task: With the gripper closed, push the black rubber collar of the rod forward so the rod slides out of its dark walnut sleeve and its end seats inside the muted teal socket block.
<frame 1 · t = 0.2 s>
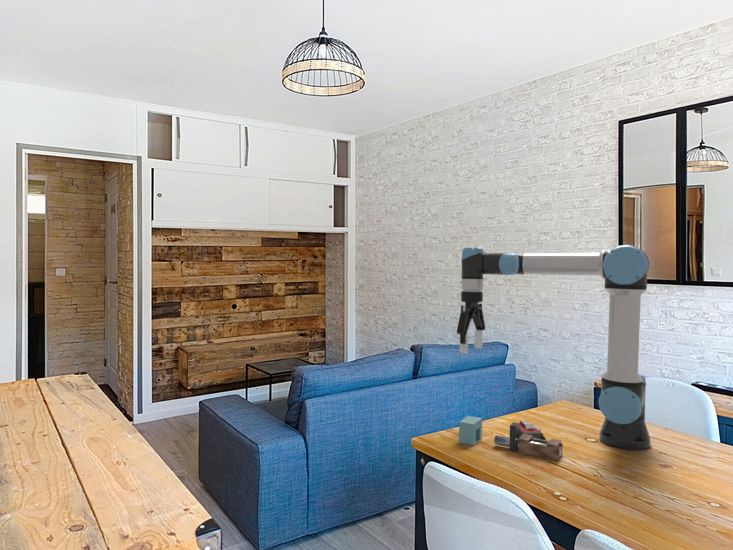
hand: (471, 350, 189), 28 cm above the table, fingers open, 13 cm apart
sleeve: (540, 454, 164), on the table
rod: (527, 438, 166), point 4 cm above the table, slide at 0.0 cm
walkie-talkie: (526, 434, 185), on the table
socket: (470, 440, 175), on the table
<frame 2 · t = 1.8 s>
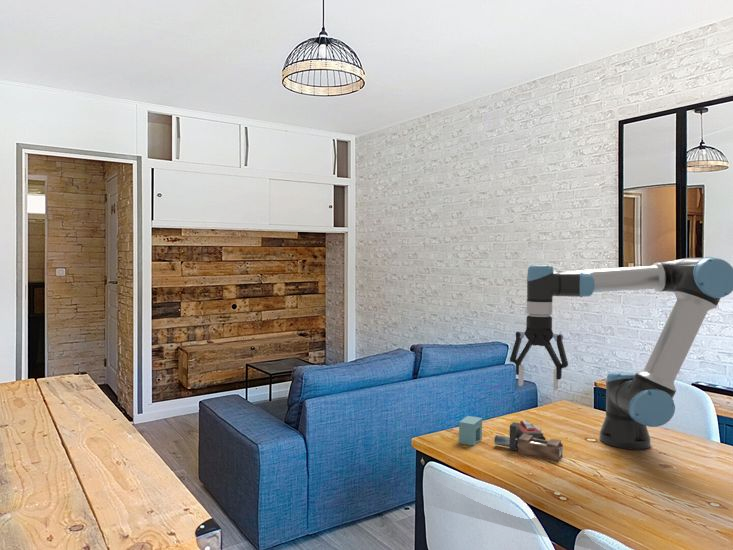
hand: (537, 387, 164), 21 cm above the table, fingers open, 10 cm apart
nothing on the table moved.
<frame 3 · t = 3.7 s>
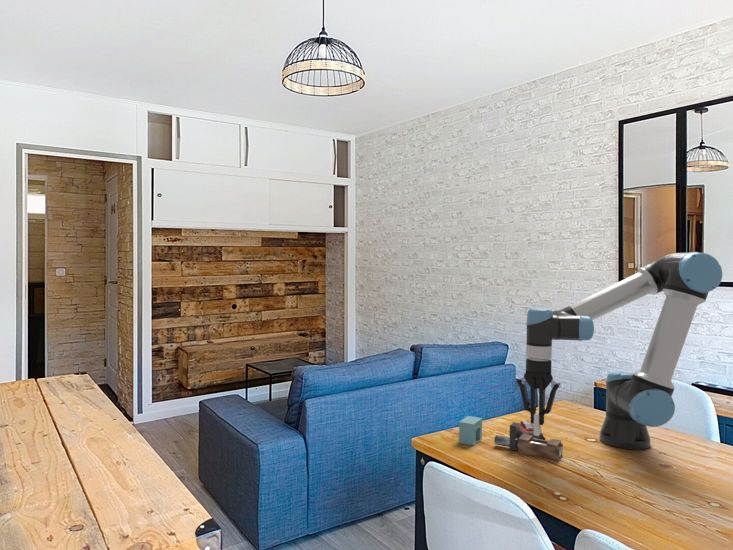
hand: (537, 434, 164), 6 cm above the table, fingers closed
nothing on the table moved.
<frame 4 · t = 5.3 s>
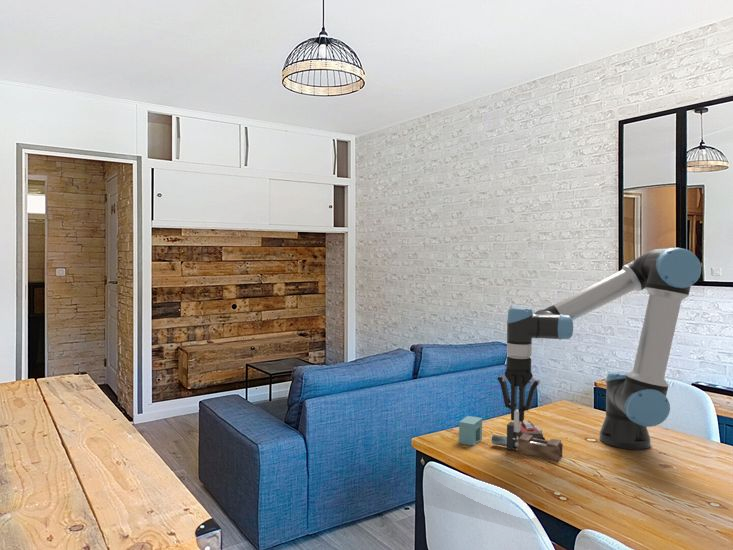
hand: (517, 430, 167), 6 cm above the table, fingers closed
rod: (524, 437, 166), point 4 cm above the table, slide at 0.9 cm, touching gripper
everything else where it was.
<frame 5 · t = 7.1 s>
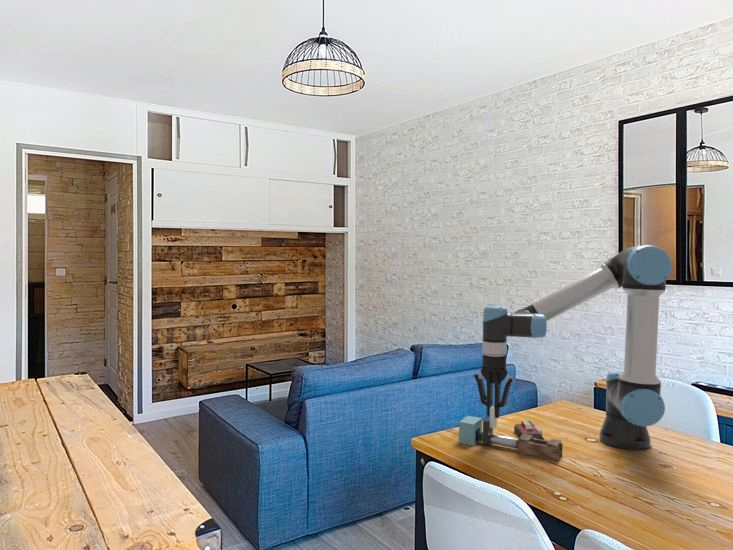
hand: (493, 427, 171), 6 cm above the table, fingers closed
rod: (500, 433, 170), point 4 cm above the table, slide at 8.7 cm, touching gripper
everything else where it was.
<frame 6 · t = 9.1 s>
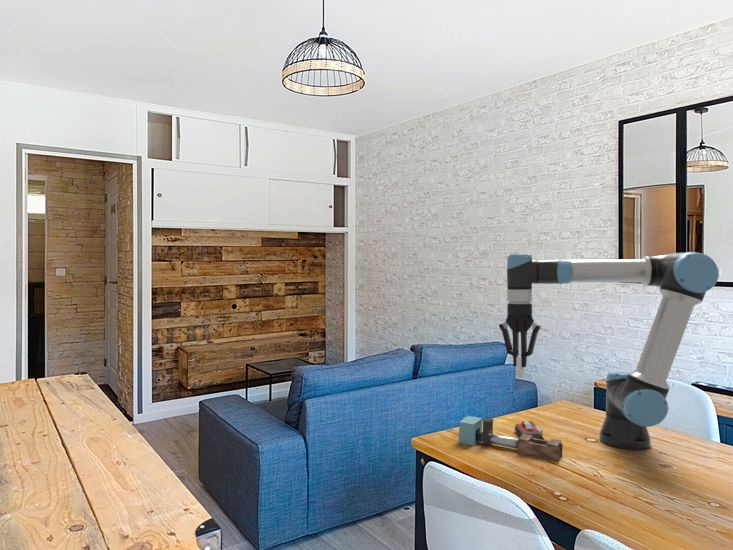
hand: (520, 377, 168), 23 cm above the table, fingers closed
rod: (499, 433, 170), point 4 cm above the table, slide at 8.7 cm
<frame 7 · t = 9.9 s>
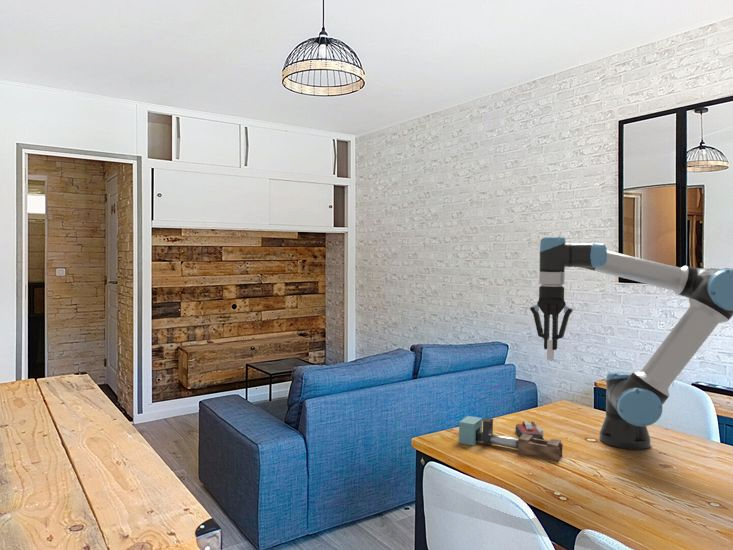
hand: (550, 359, 168), 28 cm above the table, fingers closed
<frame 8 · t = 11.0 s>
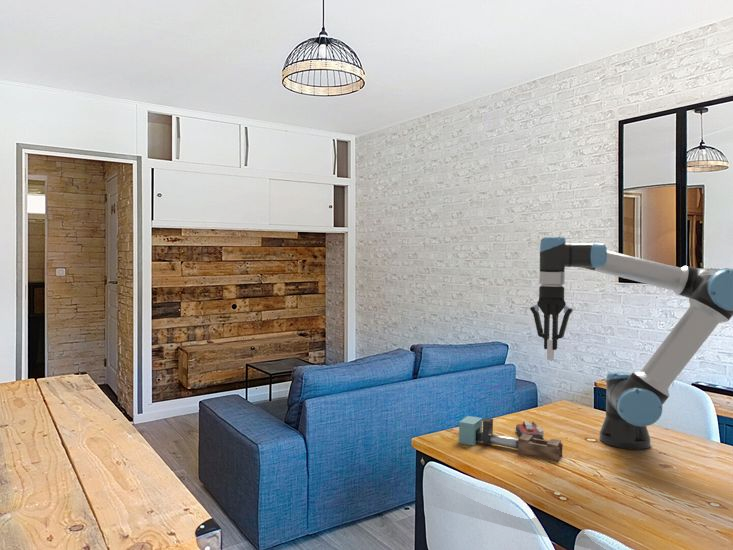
hand: (550, 359, 168), 28 cm above the table, fingers closed
at the end: rod slide at 8.7 cm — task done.
